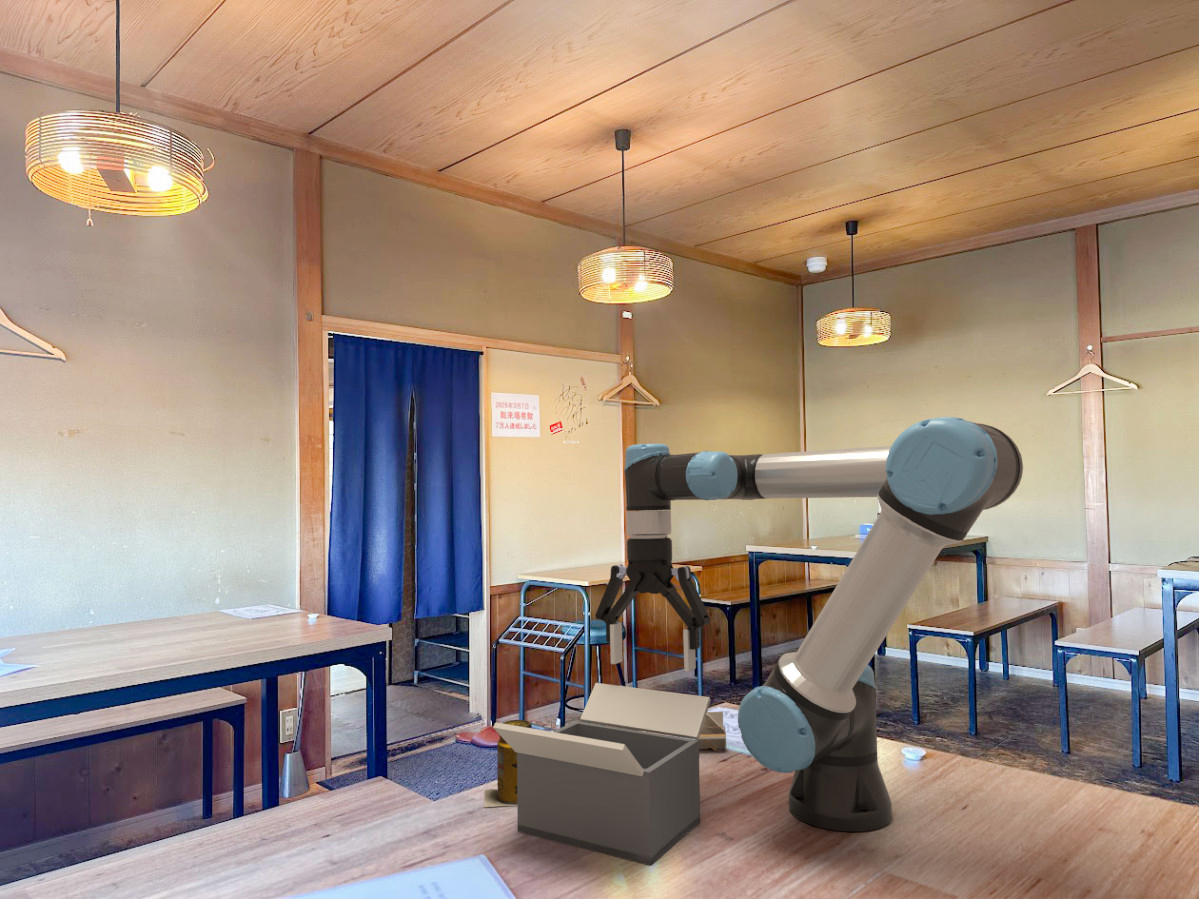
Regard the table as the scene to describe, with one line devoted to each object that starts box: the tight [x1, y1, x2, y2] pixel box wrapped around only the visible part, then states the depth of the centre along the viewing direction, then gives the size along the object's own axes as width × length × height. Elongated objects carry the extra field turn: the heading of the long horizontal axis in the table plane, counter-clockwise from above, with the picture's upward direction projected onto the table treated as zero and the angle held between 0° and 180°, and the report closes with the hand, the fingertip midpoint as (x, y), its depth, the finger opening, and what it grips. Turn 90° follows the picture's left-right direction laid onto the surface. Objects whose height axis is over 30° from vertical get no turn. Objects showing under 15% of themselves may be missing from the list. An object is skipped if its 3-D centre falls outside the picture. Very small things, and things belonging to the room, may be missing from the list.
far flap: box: [579, 682, 712, 740], centre depth 127 cm, size 21×7×1 cm
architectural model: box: [699, 711, 727, 752], centre depth 151 cm, size 3×7×7 cm, turn 91°
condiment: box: [483, 719, 533, 808], centre depth 128 cm, size 7×8×12 cm
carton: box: [516, 720, 701, 866], centre depth 116 cm, size 22×16×12 cm
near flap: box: [493, 722, 644, 776], centre depth 107 cm, size 21×7×1 cm
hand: (652, 666), depth 129 cm, fingers open, 13 cm apart
